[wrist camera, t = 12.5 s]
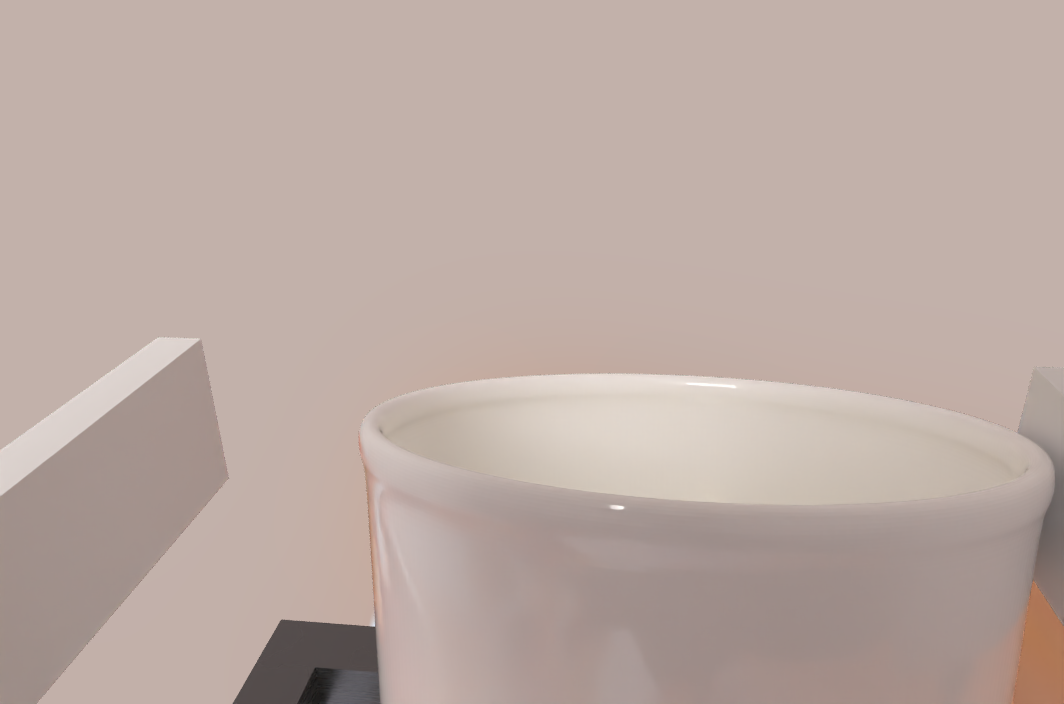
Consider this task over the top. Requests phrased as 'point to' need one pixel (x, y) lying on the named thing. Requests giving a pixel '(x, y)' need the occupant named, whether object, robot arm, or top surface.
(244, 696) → the stand
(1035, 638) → the top surface
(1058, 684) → the top surface
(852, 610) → the candle holder
